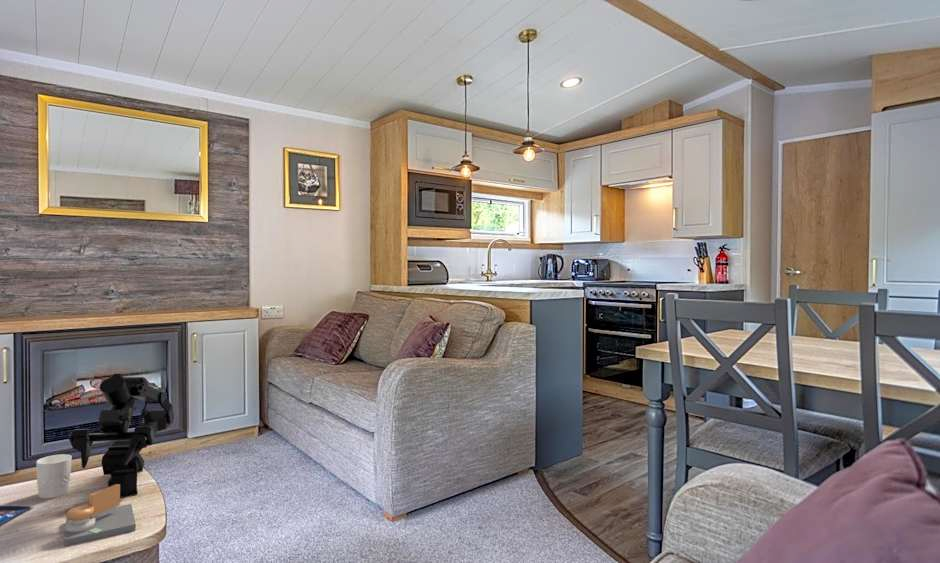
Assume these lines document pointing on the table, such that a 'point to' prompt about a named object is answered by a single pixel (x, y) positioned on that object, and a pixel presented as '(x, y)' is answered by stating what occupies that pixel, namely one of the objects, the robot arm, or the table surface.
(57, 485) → the white cup
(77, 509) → the lever cap
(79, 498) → the table surface
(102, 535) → the base
